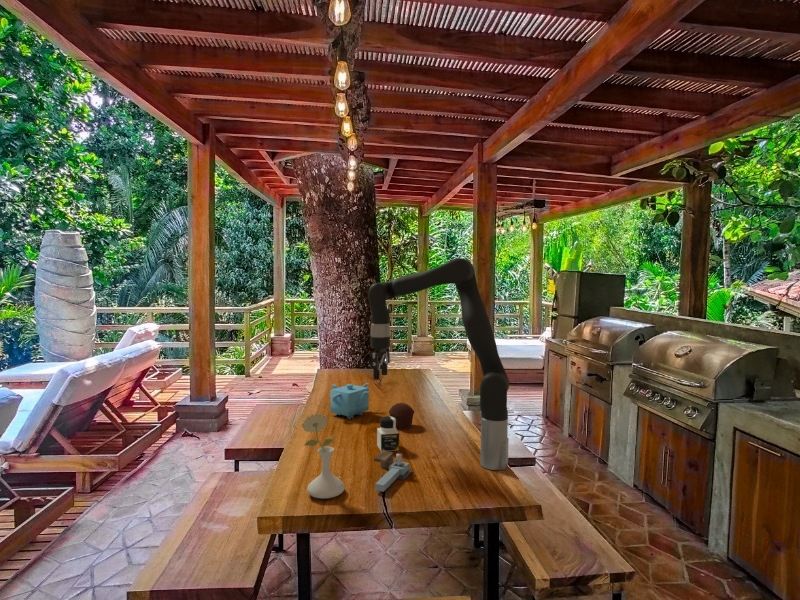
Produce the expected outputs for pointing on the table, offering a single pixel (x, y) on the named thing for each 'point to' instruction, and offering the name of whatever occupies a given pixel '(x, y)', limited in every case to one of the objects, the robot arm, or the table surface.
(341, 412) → the teakettle
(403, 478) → the pintle block
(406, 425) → the muffin
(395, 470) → the link
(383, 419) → the medicine bottle
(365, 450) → the table surface
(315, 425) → the flower in vase
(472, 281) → the robot arm
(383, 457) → the block
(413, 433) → the table surface
